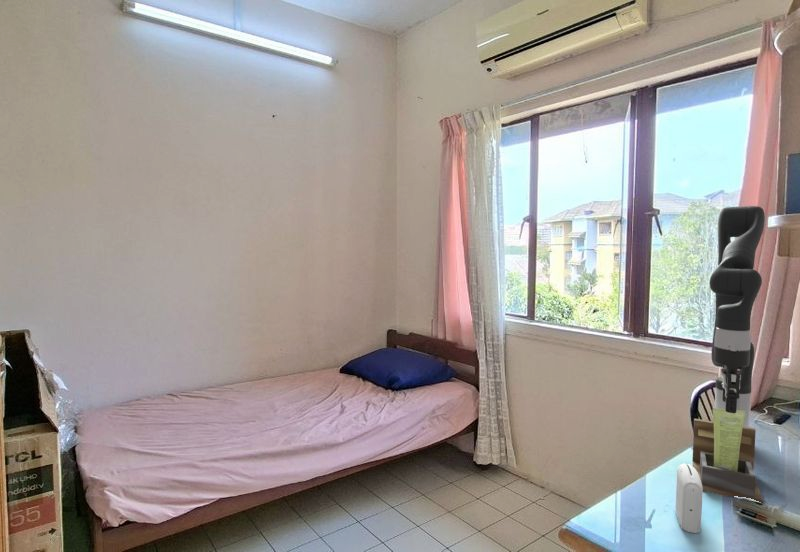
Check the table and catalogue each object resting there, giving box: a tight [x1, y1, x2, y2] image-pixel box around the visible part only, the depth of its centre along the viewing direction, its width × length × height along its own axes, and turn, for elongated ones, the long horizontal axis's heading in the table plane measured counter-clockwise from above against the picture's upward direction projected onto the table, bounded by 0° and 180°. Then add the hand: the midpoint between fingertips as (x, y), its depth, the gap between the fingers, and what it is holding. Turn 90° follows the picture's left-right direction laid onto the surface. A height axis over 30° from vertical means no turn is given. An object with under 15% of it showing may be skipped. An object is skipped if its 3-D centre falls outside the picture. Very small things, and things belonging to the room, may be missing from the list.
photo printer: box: [675, 463, 703, 534], centre depth 105 cm, size 10×4×12 cm, turn 156°
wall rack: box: [692, 418, 764, 504], centre depth 122 cm, size 17×14×13 cm
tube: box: [712, 407, 745, 472], centre depth 120 cm, size 6×5×20 cm
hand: (728, 406), depth 119 cm, fingers open, 8 cm apart
